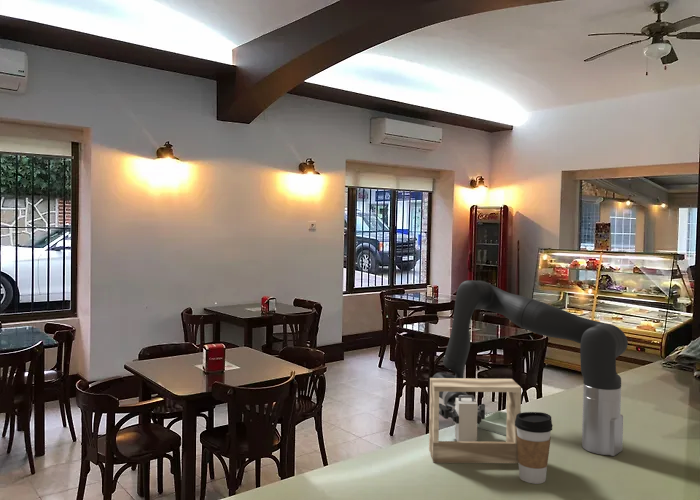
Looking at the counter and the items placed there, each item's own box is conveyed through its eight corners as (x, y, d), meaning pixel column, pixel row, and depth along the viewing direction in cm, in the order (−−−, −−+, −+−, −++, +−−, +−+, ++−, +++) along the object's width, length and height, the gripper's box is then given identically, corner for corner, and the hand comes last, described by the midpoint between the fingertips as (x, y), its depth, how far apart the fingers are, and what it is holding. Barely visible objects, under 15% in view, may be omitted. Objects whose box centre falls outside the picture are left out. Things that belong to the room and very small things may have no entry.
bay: (429, 449, 150) (429, 378, 150) (510, 450, 150) (511, 378, 149) (433, 462, 142) (434, 386, 141) (519, 463, 142) (521, 387, 141)
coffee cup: (553, 487, 129) (555, 422, 128) (515, 484, 130) (516, 419, 130) (548, 472, 137) (550, 411, 136) (512, 469, 138) (513, 408, 138)
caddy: (455, 436, 158) (455, 392, 157) (472, 437, 158) (473, 392, 157) (458, 443, 153) (459, 397, 152) (476, 443, 153) (477, 398, 152)
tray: (533, 428, 167) (533, 419, 167) (513, 438, 159) (513, 429, 159) (498, 418, 176) (498, 410, 176) (477, 427, 167) (477, 419, 167)
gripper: (432, 388, 169) (441, 406, 152) (480, 388, 169) (495, 406, 152) (432, 412, 170) (441, 433, 153) (480, 413, 170) (494, 434, 153)
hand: (468, 420), depth 153 cm, fingers closed on caddy, 5 cm apart
